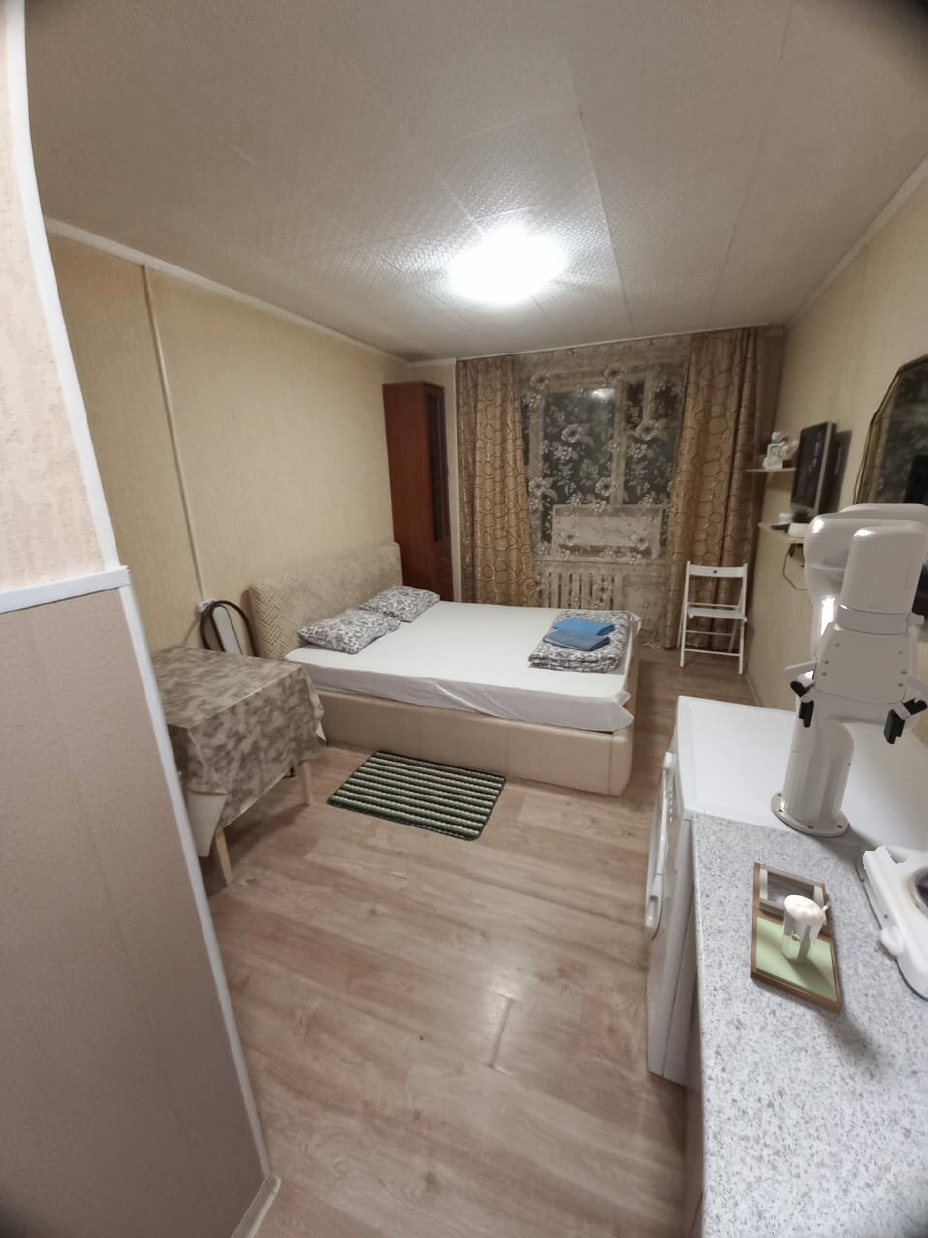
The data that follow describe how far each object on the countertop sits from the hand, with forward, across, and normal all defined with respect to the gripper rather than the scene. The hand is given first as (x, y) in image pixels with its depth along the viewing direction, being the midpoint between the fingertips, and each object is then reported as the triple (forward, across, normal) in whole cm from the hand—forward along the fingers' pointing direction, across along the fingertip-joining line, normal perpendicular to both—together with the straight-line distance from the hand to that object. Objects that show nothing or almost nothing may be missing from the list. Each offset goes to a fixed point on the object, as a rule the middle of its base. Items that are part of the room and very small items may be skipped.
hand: (845, 731), depth 71 cm
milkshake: (+29, +2, +15) cm, 33 cm away
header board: (+30, +3, +9) cm, 32 cm away
